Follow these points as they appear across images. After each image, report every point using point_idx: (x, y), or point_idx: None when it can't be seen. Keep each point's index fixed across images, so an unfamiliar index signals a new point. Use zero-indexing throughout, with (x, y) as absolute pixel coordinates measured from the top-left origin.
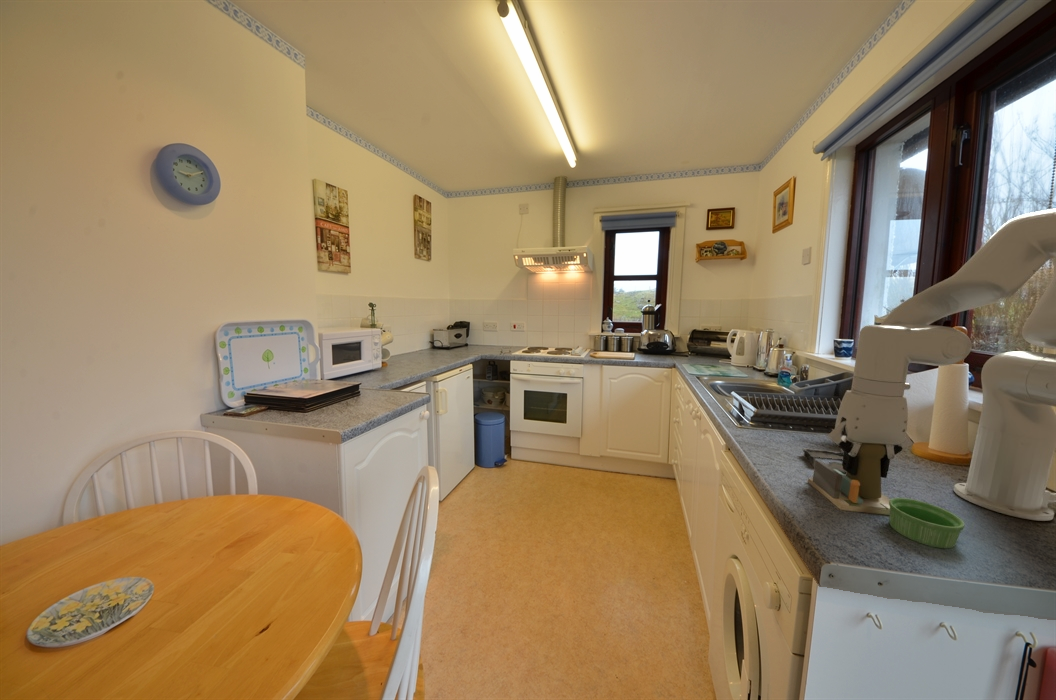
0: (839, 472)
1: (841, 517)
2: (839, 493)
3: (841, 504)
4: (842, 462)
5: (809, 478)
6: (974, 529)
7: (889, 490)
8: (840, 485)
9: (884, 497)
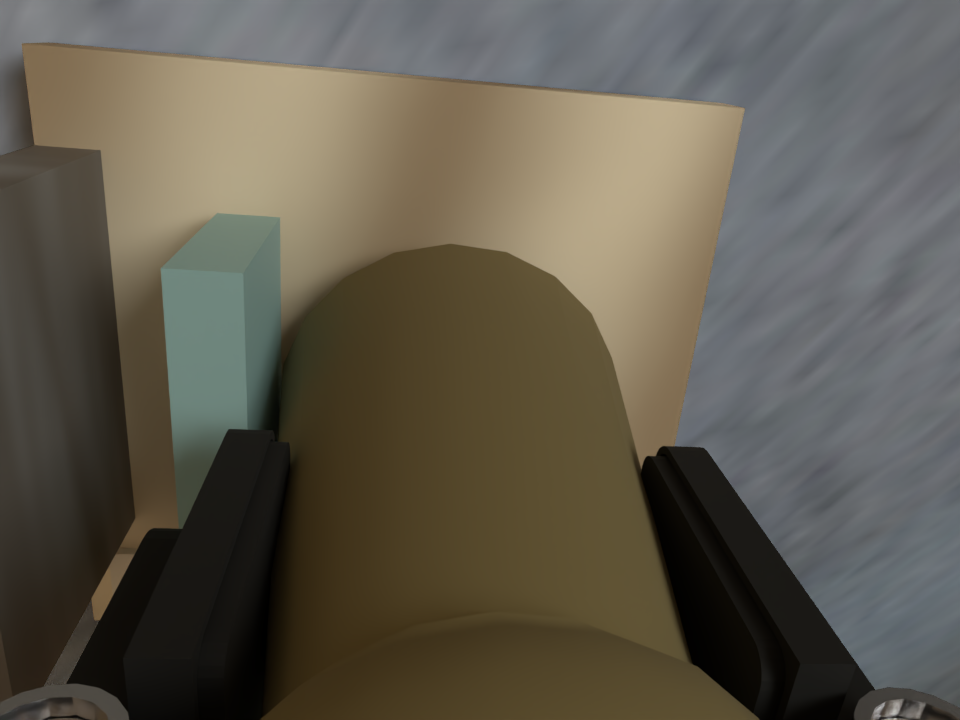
0: (219, 376)
1: (50, 684)
2: (112, 556)
3: (98, 611)
4: (137, 554)
5: (29, 60)
6: (947, 659)
7: (946, 134)
8: (75, 620)
9: (649, 420)
